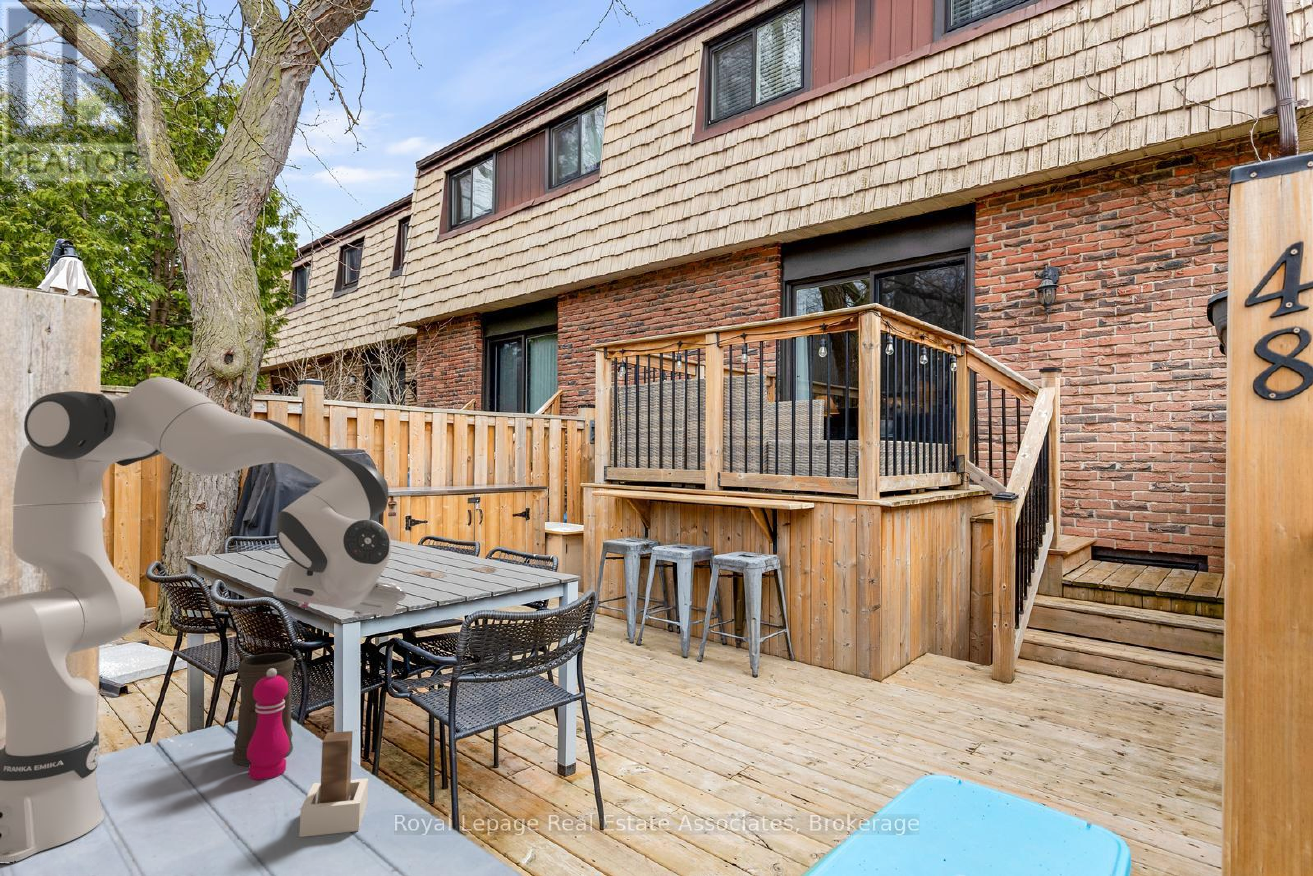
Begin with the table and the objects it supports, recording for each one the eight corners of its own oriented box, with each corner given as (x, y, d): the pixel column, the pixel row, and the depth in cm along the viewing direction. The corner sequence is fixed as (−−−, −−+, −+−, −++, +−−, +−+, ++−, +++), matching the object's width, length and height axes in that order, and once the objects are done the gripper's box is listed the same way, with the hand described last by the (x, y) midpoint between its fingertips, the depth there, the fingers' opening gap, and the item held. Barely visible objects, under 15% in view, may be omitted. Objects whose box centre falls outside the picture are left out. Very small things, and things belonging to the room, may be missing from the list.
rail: (317, 828, 112) (321, 742, 113) (323, 815, 117) (326, 732, 117) (345, 825, 114) (349, 740, 114) (350, 812, 118) (353, 730, 118)
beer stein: (301, 756, 139) (303, 656, 140) (242, 772, 131) (245, 666, 133) (276, 738, 149) (278, 646, 151) (220, 753, 141) (222, 655, 143)
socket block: (299, 837, 110) (300, 809, 110) (312, 809, 118) (313, 783, 118) (358, 830, 112) (359, 803, 112) (367, 804, 121) (368, 778, 121)
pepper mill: (269, 783, 127) (273, 675, 128) (236, 779, 129) (241, 672, 129) (297, 766, 134) (301, 664, 135) (265, 762, 136) (269, 661, 136)
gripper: (412, 574, 121) (393, 602, 130) (287, 549, 112) (276, 580, 122) (405, 608, 117) (386, 634, 127) (275, 585, 108) (265, 614, 118)
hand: (331, 607), depth 124 cm, fingers open, 8 cm apart
